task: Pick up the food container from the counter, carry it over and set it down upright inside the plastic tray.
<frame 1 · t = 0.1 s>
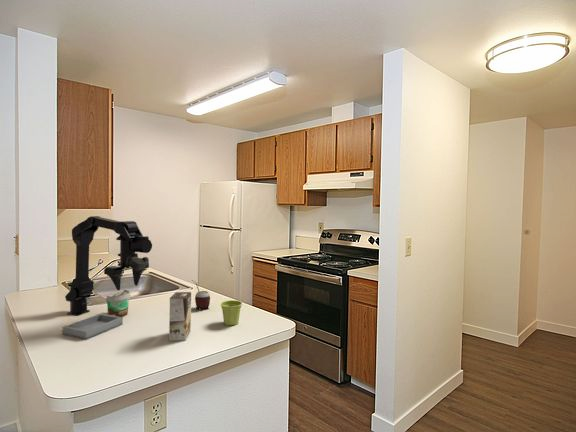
hand: (127, 287, 148), 15 cm above the countertop, tool pointing down, fingers open, 9 cm apart
food container: (121, 315, 156), on the countertop
plant pot: (231, 323, 150), on the countertop
coffee box: (180, 336, 134), on the countertop
mate gourd: (201, 309, 167), on the countertop
tray: (94, 329, 139), on the countertop
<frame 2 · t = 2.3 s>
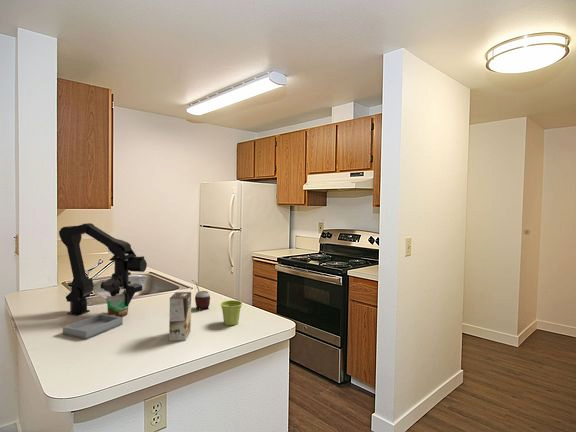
hand: (121, 305, 156), 4 cm above the countertop, tool pointing down, fingers closed on food container, 6 cm apart
food container: (121, 315, 156), on the countertop, touching gripper
everything else where it was.
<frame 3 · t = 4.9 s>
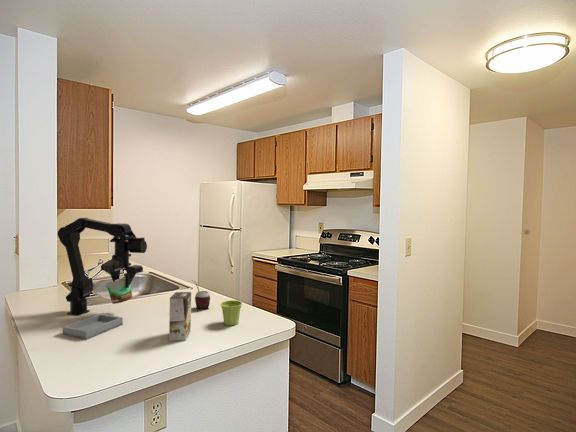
hand: (121, 287, 155), 13 cm above the countertop, tool pointing down, fingers closed on food container, 6 cm apart
food container: (126, 299, 156), point 7 cm above the countertop, touching gripper
everything else where it was.
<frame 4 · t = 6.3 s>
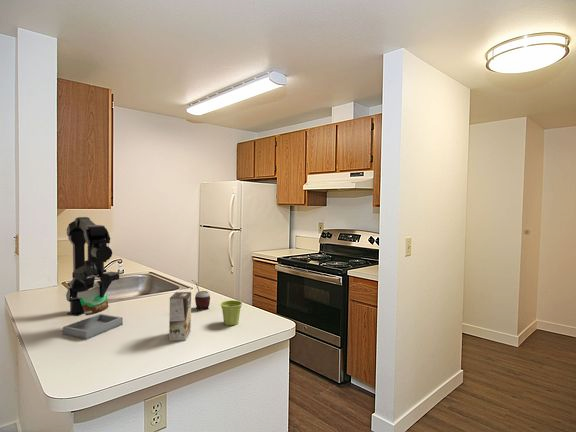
hand: (95, 296, 139), 13 cm above the countertop, tool pointing down, fingers closed on food container, 6 cm apart
food container: (101, 310, 140), point 7 cm above the countertop, touching gripper
everything else where it was.
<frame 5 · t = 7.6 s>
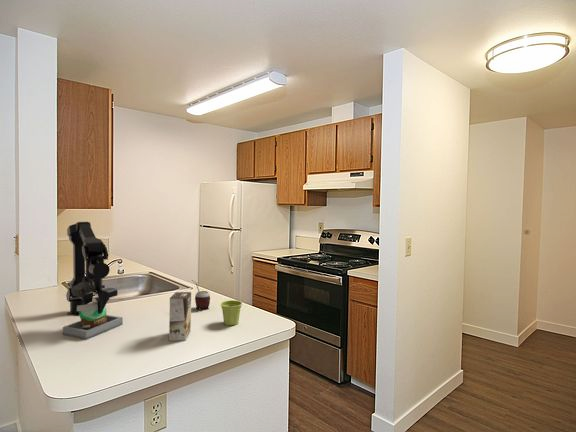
hand: (94, 312, 138), 7 cm above the countertop, tool pointing down, fingers closed on food container, 6 cm apart
food container: (99, 325, 140), point 1 cm above the countertop, touching gripper, tray
everything else where it was.
when the fingers open (7 cm above the countertop, at t = 8.5 s): food container stays where it is, resting on tray.
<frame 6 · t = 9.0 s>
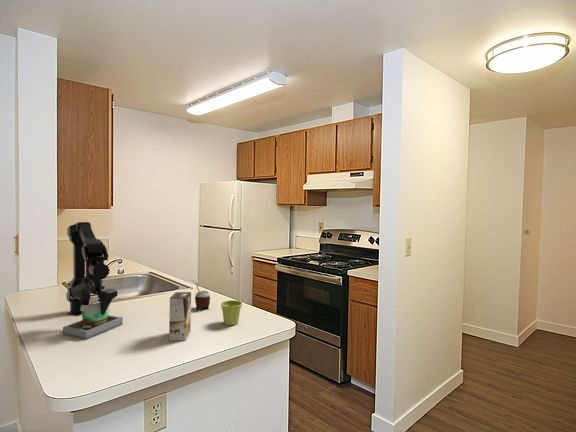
hand: (94, 313, 138), 7 cm above the countertop, tool pointing down, fingers open, 9 cm apart
food container: (99, 327, 140), point 1 cm above the countertop, touching tray
everything else where it was.
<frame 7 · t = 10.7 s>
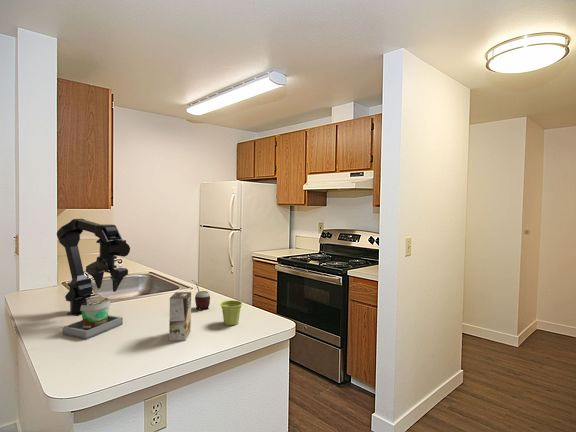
hand: (106, 290, 150), 13 cm above the countertop, tool pointing down, fingers open, 9 cm apart
nothing on the countertop moved.
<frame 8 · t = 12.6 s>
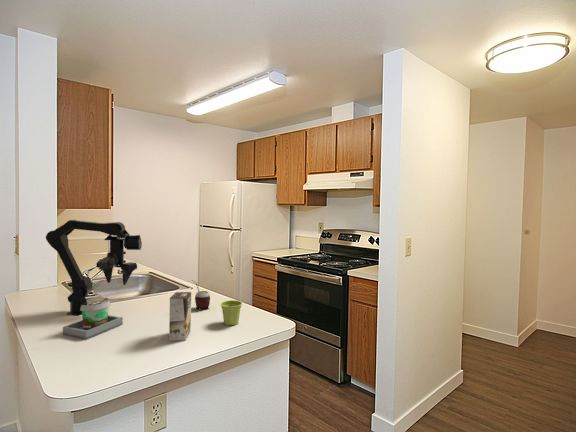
hand: (116, 283, 160), 13 cm above the countertop, tool pointing down, fingers open, 9 cm apart
nothing on the countertop moved.
at the end: food container inside the target area on the tray (1.9 cm from its centre), point 0.6 cm above the tray's base; food container tilted 0°; the gripper is holding nothing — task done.
